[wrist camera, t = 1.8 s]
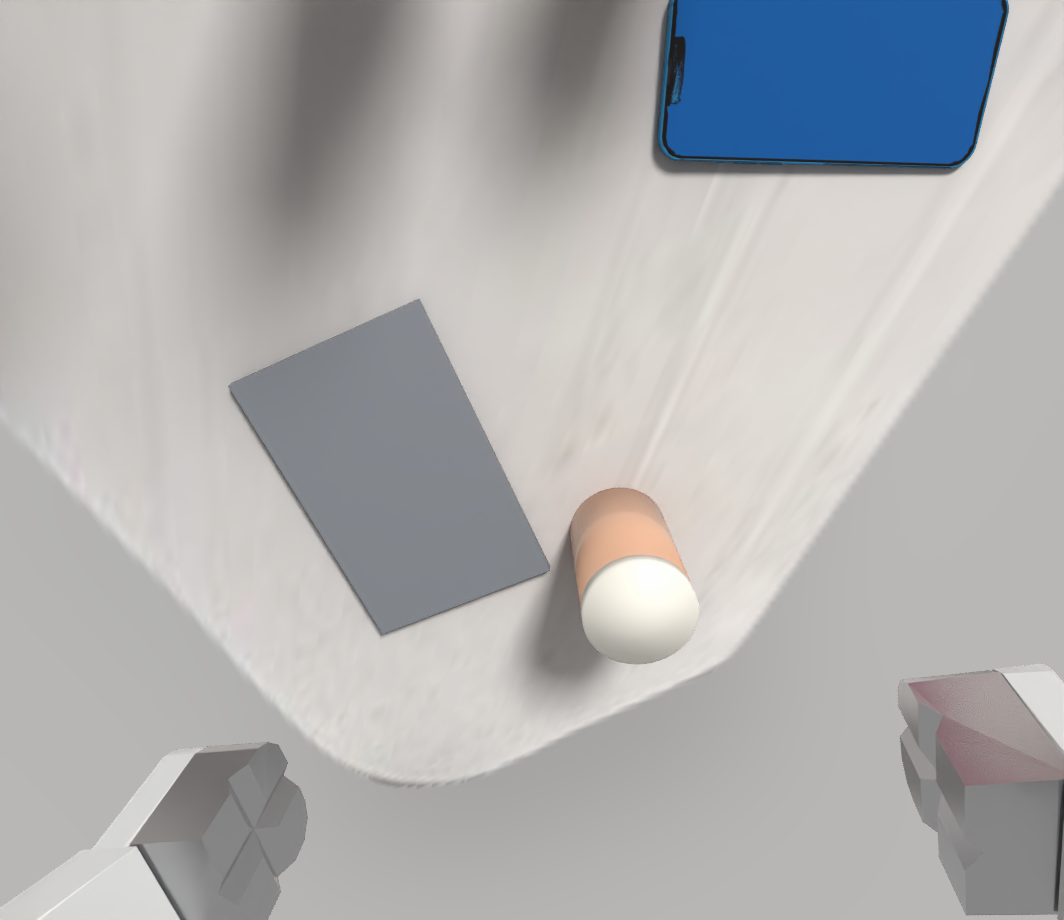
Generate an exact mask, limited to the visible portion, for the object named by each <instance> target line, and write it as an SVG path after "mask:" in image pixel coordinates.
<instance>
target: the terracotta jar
mask: <svg viewBox="0 0 1064 920" xmlns="http://www.w3.org/2000/svg"><path fill="white" fill-rule="evenodd" d="M570 537H571V544H572V552H573V559H574V566H575V573H576V580H577V588H578V595H579V602H580V609H581V616H582V624H583V628H584V632H585V634H586V637H587V638H588V640H589V642H590V643H591V644H592V646H593V647H594V648H595V649H596V650H597V651H598V652H600V653H601V654H603V655H604V656H606V657H608V658H610V659H612V660H615V661H618V662H622V663H627V664H647V663H652V662H656V661H659V660H662V659H664V658H667V657H669V656H670V655H672V654H674V653H675V652H677V651H678V650H680V649H681V648H682V647H683V646H684V645H685V644H686V643H687V642H688V641H689V639H690V638H691V636H692V635H693V633H694V631H695V629H696V627H697V624H698V619H699V604H698V600H697V597H696V594H695V592H694V589H693V587H692V585H691V582H690V580H689V577H688V575H687V573H686V570H685V568H684V565H683V563H682V560H681V558H680V556H679V553H678V551H677V548H676V546H675V544H674V541H673V539H672V536H671V534H670V532H669V529H668V527H667V524H666V522H665V520H664V517H663V515H662V513H661V511H660V509H659V507H658V506H657V504H656V503H655V502H654V501H653V500H652V499H651V498H650V497H648V496H647V495H645V494H643V493H641V492H639V491H637V490H633V489H628V488H611V489H606V490H603V491H600V492H598V493H596V494H594V495H592V496H591V497H589V498H588V499H587V500H585V501H584V502H583V503H582V504H581V505H580V507H579V508H578V509H577V511H576V513H575V514H574V516H573V519H572V522H571V527H570Z"/></svg>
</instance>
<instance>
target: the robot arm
mask: <svg viewBox="0 0 1064 920" xmlns="http://www.w3.org/2000/svg"><path fill="white" fill-rule="evenodd" d="M898 707H899V709H900V711H901V713H902V715H903V717H904V719H905V721H906V723H907V725H908V727H907V728H906V729H905V731H904V732H903V733H902V734H901V735H900V743H901V754H902V762H903V766H904V770H905V775H906V780H907V784H908V786H909V789H910V792H911V795H912V798H913V801H914V803H915V805H916V807H917V810H918V812H919V814H920V816H921V819H922V821H923V822H924V823H926V824H927V825H928V826H930V827H931V828H932V829H934V830H935V831H937V832H938V844H939V858H940V860H941V862H942V865H943V867H944V869H945V871H946V873H947V875H948V878H949V880H950V882H951V884H952V886H953V888H954V890H955V892H956V895H957V897H958V899H959V901H960V903H961V905H962V907H963V910H964V912H965V914H966V915H1031V914H1032V915H1037V914H1038V915H1040V914H1058V920H1064V682H1063V681H1062V680H1061V679H1060V678H1059V677H1058V676H1057V674H1056V673H1055V672H1054V671H1053V670H1052V669H1051V668H1049V667H1047V666H1045V665H1043V664H1033V665H1024V666H1016V667H1008V668H999V669H993V670H992V671H988V670H987V671H978V672H969V673H959V674H950V675H940V676H931V677H921V678H912V679H902V680H900V682H899V686H898ZM287 764H288V762H287V760H286V758H285V756H284V754H283V752H282V751H281V749H280V747H279V745H277V744H273V743H269V742H264V743H263V742H262V743H248V744H234V745H221V746H207V747H205V748H190V749H176V750H175V751H173V752H171V753H169V754H167V755H165V756H164V757H163V758H162V760H161V761H160V762H159V763H158V765H157V766H156V767H155V769H154V770H153V771H152V772H151V774H150V775H149V777H148V778H147V779H146V780H145V782H144V783H143V784H142V785H141V787H140V788H139V789H138V790H137V792H136V793H135V794H134V796H133V797H132V798H131V800H130V801H129V802H128V803H127V805H126V806H125V807H124V808H123V810H122V811H121V812H120V814H119V815H118V816H117V818H116V819H115V820H114V821H113V822H112V824H111V825H110V826H109V828H108V829H107V830H106V832H105V833H104V834H103V835H102V837H101V838H100V839H99V840H98V842H97V843H96V844H95V846H94V847H93V848H92V849H90V850H81V851H80V852H78V853H77V854H75V855H74V856H73V857H71V858H70V859H68V860H67V861H66V862H64V863H63V864H61V865H60V866H58V867H57V868H56V869H54V870H53V871H51V872H50V873H49V874H47V875H46V876H44V877H43V878H41V879H40V880H39V881H37V882H36V883H34V884H33V885H31V886H30V887H29V888H27V889H26V890H24V891H23V892H21V893H20V894H19V895H17V896H16V897H14V898H13V899H12V900H10V901H9V902H7V903H6V904H5V905H3V906H2V907H0V920H268V918H269V916H270V913H271V911H272V909H273V907H274V905H275V903H276V901H277V899H278V896H279V894H280V892H281V891H280V886H279V881H278V876H279V875H280V874H281V873H282V872H283V871H284V870H285V869H287V868H288V867H289V866H290V865H291V864H292V863H293V862H294V861H295V860H296V858H297V856H298V853H299V851H300V849H301V846H302V844H303V842H304V839H305V832H306V824H307V818H308V817H307V810H306V804H305V800H304V797H303V795H302V793H301V790H300V788H299V787H298V786H297V785H296V784H294V783H293V782H292V781H290V780H289V779H288V778H286V777H285V776H284V772H285V769H286V767H287Z"/></svg>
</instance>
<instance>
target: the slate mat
mask: <svg viewBox="0 0 1064 920" xmlns="http://www.w3.org/2000/svg"><path fill="white" fill-rule="evenodd" d="M228 387H229V389H230V390H231V392H232V393H233V395H234V397H235V398H236V400H237V401H238V403H239V405H240V406H241V408H242V409H243V411H244V413H245V414H246V416H247V417H248V419H249V421H250V422H251V424H252V425H253V427H254V429H255V430H256V432H257V434H258V435H259V437H260V438H261V440H262V442H263V443H264V445H265V446H266V448H267V450H268V451H269V453H270V454H271V456H272V458H273V459H274V461H275V462H276V464H277V466H278V467H279V469H280V470H281V472H282V474H283V475H284V477H285V478H286V480H287V482H288V483H289V485H290V487H291V488H292V490H293V491H294V493H295V495H296V496H297V498H298V499H299V501H300V503H301V504H302V506H303V507H304V509H305V511H306V512H307V514H308V515H309V517H310V519H311V520H312V522H313V523H314V525H315V527H316V528H317V530H318V531H319V533H320V535H321V536H322V538H323V540H324V541H325V543H326V544H327V546H328V548H329V549H330V551H331V552H332V554H333V556H334V557H335V559H336V560H337V562H338V564H339V565H340V567H341V568H342V570H343V572H344V573H345V575H346V576H347V578H348V580H349V581H350V583H351V584H352V586H353V588H354V589H355V591H356V593H357V594H358V596H359V597H360V599H361V601H362V602H363V604H364V605H365V607H366V609H367V610H368V612H369V613H370V615H371V617H372V618H373V620H374V621H375V623H376V625H377V626H378V628H379V629H380V631H381V633H382V634H384V633H387V632H390V631H392V630H395V629H397V628H400V627H403V626H405V625H408V624H411V623H413V622H416V621H418V620H421V619H424V618H426V617H429V616H432V615H434V614H437V613H439V612H442V611H445V610H447V609H450V608H453V607H455V606H458V605H460V604H463V603H466V602H468V601H471V600H474V599H476V598H479V597H481V596H484V595H487V594H489V593H492V592H495V591H497V590H500V589H503V588H505V587H508V586H510V585H513V584H516V583H518V582H521V581H524V580H526V579H529V578H531V577H534V576H537V575H539V574H542V573H545V572H547V571H550V566H549V563H548V561H547V559H546V557H545V555H544V553H543V551H542V549H541V547H540V545H539V543H538V541H537V539H536V537H535V535H534V533H533V531H532V528H531V526H530V524H529V522H528V520H527V518H526V516H525V514H524V512H523V510H522V508H521V506H520V504H519V502H518V500H517V498H516V496H515V494H514V492H513V490H512V488H511V485H510V483H509V481H508V479H507V477H506V475H505V473H504V471H503V469H502V467H501V465H500V463H499V461H498V459H497V457H496V455H495V453H494V451H493V449H492V447H491V445H490V442H489V440H488V438H487V436H486V434H485V432H484V430H483V428H482V426H481V424H480V422H479V420H478V418H477V416H476V414H475V412H474V410H473V408H472V406H471V404H470V402H469V400H468V397H467V395H466V393H465V391H464V389H463V387H462V385H461V383H460V381H459V379H458V377H457V375H456V373H455V371H454V369H453V367H452V365H451V363H450V361H449V359H448V357H447V354H446V352H445V350H444V348H443V346H442V344H441V342H440V340H439V338H438V336H437V334H436V332H435V330H434V328H433V326H432V324H431V322H430V320H429V318H428V316H427V314H426V311H425V309H424V307H423V305H422V303H421V301H420V299H417V300H415V301H413V302H411V303H409V304H406V305H404V306H402V307H400V308H397V309H395V310H393V311H391V312H389V313H386V314H384V315H382V316H380V317H377V318H375V319H373V320H371V321H369V322H366V323H364V324H362V325H360V326H357V327H355V328H353V329H351V330H349V331H346V332H344V333H342V334H340V335H337V336H335V337H333V338H331V339H329V340H326V341H324V342H322V343H320V344H318V345H315V346H313V347H311V348H309V349H306V350H304V351H302V352H300V353H298V354H295V355H293V356H291V357H289V358H286V359H284V360H282V361H280V362H278V363H275V364H273V365H271V366H269V367H266V368H264V369H262V370H260V371H258V372H255V373H253V374H251V375H249V376H246V377H244V378H242V379H240V380H238V381H235V382H233V383H231V384H230V385H229V386H228Z"/></svg>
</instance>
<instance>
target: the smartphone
mask: <svg viewBox="0 0 1064 920" xmlns="http://www.w3.org/2000/svg"><path fill="white" fill-rule="evenodd" d="M1008 12H1009V5H1008V1H1007V0H670V1H669V8H668V20H667V32H666V43H665V55H664V67H663V78H662V90H661V102H660V113H659V125H658V137H657V139H658V145H659V147H660V149H661V151H662V153H663V154H664V155H665V156H667V157H668V158H670V159H673V160H680V161H713V162H735V163H741V164H756V163H761V164H777V165H782V164H815V165H848V166H882V167H917V168H954V167H958V166H960V165H962V164H963V163H965V162H966V161H967V160H968V159H969V158H970V157H971V155H972V154H973V152H974V150H975V148H976V144H977V140H978V136H979V132H980V128H981V124H982V120H983V116H984V112H985V108H986V103H987V99H988V95H989V91H990V87H991V83H992V79H993V75H994V71H995V67H996V63H997V58H998V54H999V50H1000V46H1001V42H1002V38H1003V34H1004V30H1005V26H1006V22H1007V18H1008Z"/></svg>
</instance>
